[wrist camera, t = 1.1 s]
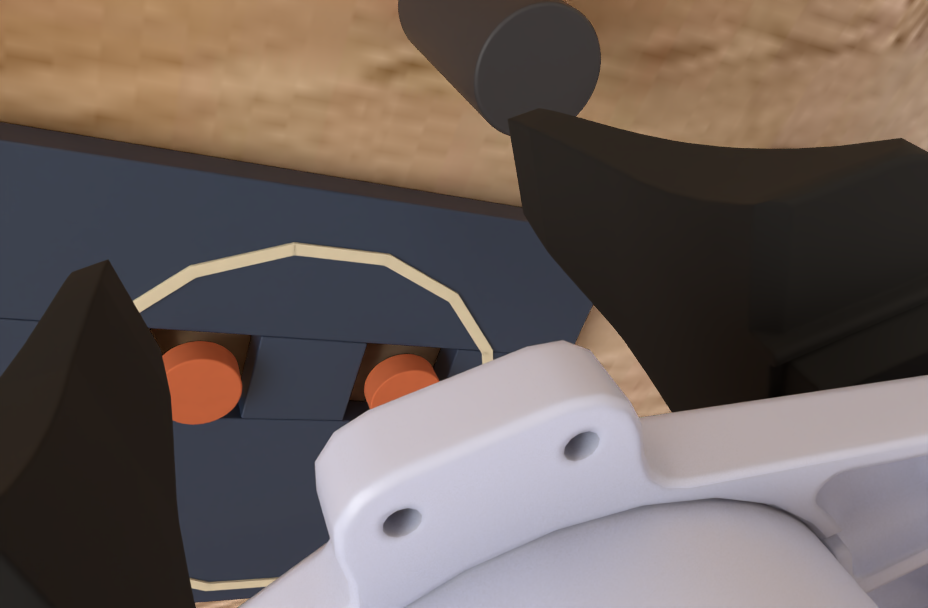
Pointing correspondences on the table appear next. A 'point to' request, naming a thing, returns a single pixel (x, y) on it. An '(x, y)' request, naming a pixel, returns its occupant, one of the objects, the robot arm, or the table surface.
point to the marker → (508, 53)
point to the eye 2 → (397, 378)
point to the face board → (270, 308)
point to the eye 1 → (202, 381)
